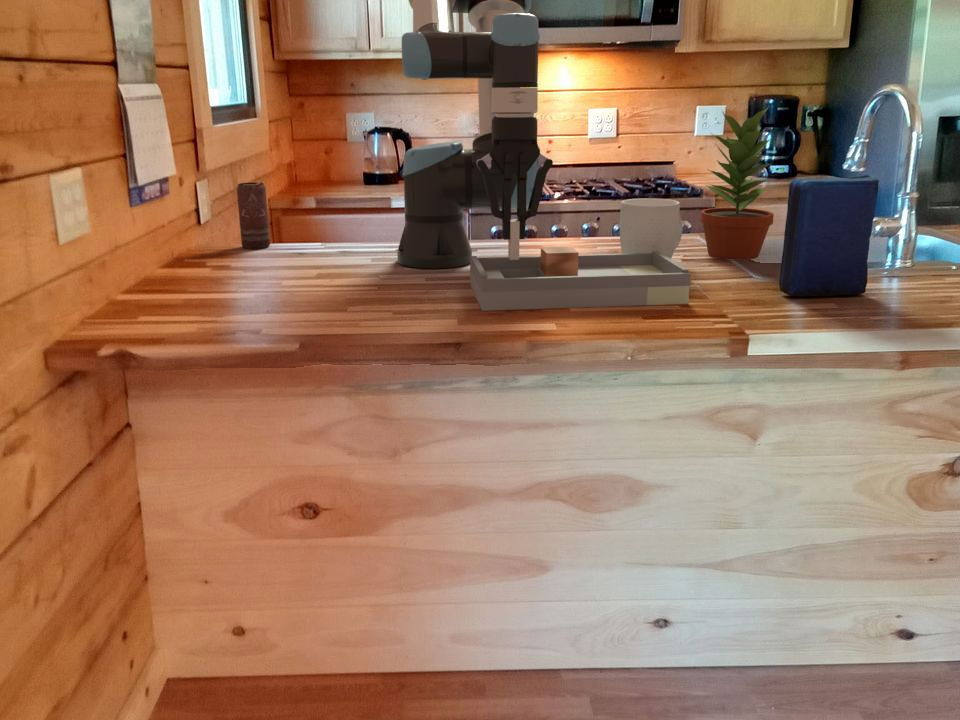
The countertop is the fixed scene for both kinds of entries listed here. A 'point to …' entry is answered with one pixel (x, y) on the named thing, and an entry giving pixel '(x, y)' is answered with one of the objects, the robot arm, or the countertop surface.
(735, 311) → the countertop surface
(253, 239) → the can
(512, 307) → the box
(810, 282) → the book
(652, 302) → the pad
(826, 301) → the countertop surface
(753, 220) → the potted plant
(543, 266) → the block
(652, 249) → the mug
